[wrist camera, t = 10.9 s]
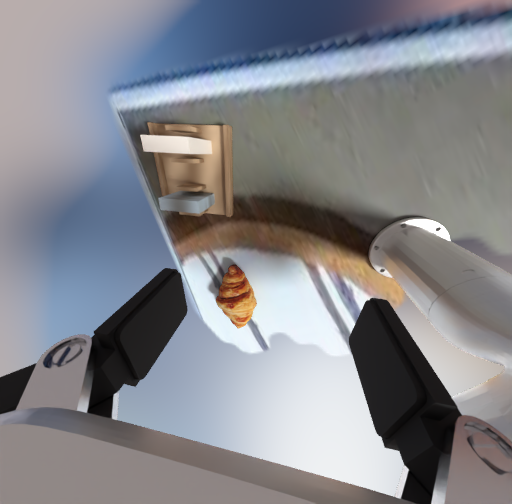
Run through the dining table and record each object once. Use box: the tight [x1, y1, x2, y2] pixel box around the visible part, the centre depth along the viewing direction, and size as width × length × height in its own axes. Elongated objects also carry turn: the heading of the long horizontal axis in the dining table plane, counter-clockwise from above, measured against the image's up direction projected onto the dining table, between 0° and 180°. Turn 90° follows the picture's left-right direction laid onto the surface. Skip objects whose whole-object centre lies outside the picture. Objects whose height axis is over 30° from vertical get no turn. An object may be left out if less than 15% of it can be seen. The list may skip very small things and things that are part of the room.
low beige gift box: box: [140, 135, 212, 154], centre depth 28 cm, size 7×2×8 cm, turn 87°
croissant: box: [216, 265, 257, 328], centre depth 45 cm, size 21×10×8 cm, turn 3°
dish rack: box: [147, 122, 233, 217], centre depth 31 cm, size 14×15×8 cm
